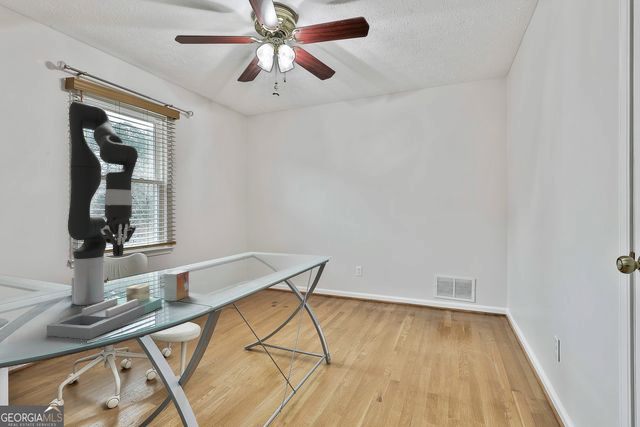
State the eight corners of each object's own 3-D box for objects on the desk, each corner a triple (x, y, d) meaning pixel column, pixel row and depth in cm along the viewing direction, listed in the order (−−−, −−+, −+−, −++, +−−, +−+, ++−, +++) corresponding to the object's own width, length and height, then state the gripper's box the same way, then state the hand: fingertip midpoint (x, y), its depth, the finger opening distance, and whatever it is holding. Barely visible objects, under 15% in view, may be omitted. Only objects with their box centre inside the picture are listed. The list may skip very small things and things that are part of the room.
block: (126, 302, 107) (126, 287, 107) (137, 298, 112) (137, 284, 112) (139, 302, 106) (139, 288, 106) (149, 298, 111) (149, 285, 111)
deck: (46, 335, 85) (46, 318, 85) (127, 304, 114) (127, 291, 114) (90, 339, 83) (90, 321, 83) (161, 306, 112) (161, 292, 112)
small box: (176, 301, 118) (176, 274, 118) (163, 300, 119) (163, 273, 119) (189, 295, 126) (189, 270, 125) (177, 295, 127) (177, 269, 127)
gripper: (124, 204, 108) (124, 252, 108) (90, 203, 95) (90, 258, 95) (143, 204, 107) (142, 253, 107) (111, 203, 94) (111, 259, 94)
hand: (118, 255), depth 101 cm, fingers closed
